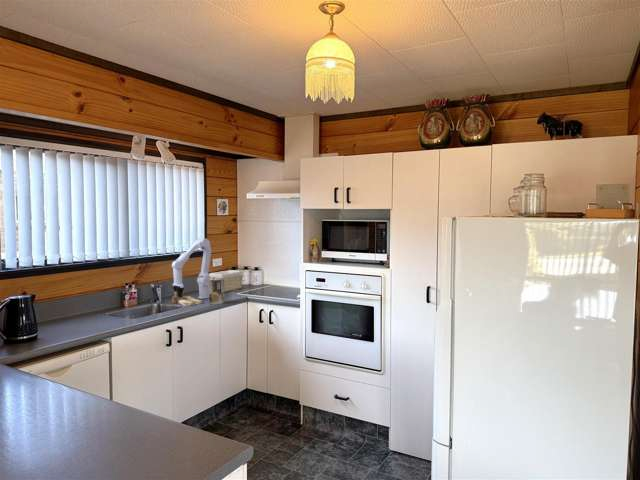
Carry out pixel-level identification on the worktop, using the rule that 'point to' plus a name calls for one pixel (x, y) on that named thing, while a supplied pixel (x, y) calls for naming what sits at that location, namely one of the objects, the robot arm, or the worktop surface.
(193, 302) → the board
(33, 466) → the worktop surface
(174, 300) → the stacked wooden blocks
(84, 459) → the worktop surface
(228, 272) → the storage basket
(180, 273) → the robot arm
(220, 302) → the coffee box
